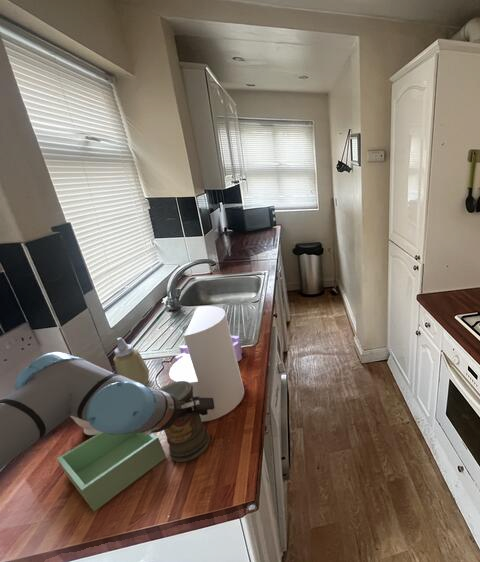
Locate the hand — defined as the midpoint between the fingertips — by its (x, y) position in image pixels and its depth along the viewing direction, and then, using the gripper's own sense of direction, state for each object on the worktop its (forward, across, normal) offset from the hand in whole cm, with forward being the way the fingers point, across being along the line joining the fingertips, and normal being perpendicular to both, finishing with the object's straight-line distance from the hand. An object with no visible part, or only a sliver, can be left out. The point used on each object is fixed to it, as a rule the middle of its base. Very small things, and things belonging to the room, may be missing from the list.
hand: (184, 415), depth 79 cm
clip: (+30, +4, +19) cm, 36 cm away
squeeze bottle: (+29, -19, +17) cm, 38 cm away
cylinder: (+15, +5, +4) cm, 16 cm away
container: (+3, 0, -8) cm, 9 cm away
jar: (+17, -24, +6) cm, 30 cm away
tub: (+4, -16, -7) cm, 18 cm away
